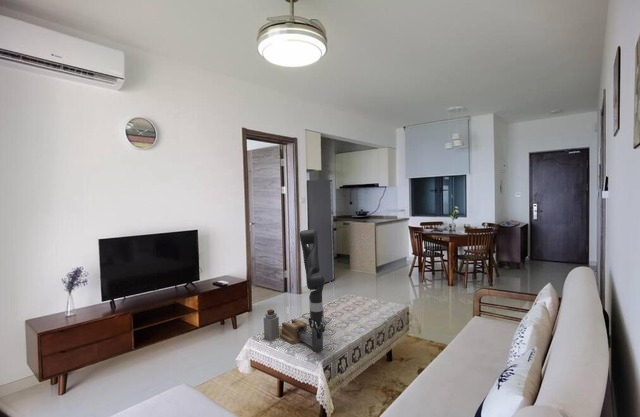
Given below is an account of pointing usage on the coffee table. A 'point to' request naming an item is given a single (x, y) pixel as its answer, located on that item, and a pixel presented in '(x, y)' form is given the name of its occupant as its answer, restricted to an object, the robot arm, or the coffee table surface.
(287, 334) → the guide block
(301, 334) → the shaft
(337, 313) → the coffee table surface
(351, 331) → the coffee table surface
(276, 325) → the perfume bottle
